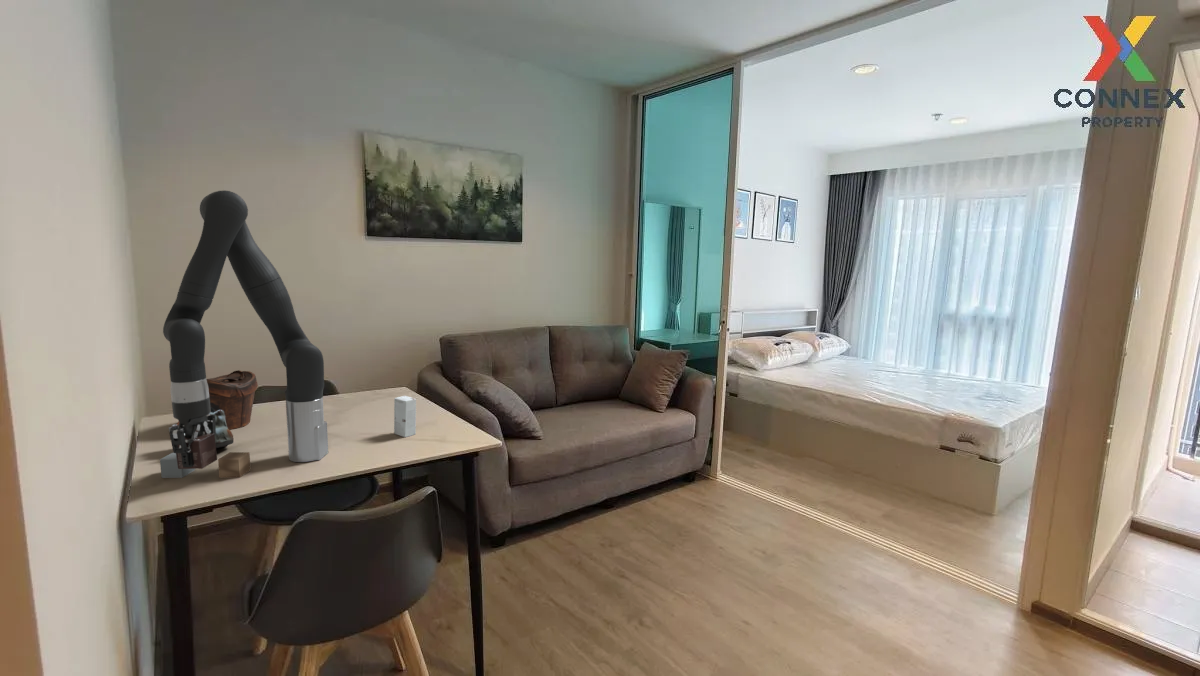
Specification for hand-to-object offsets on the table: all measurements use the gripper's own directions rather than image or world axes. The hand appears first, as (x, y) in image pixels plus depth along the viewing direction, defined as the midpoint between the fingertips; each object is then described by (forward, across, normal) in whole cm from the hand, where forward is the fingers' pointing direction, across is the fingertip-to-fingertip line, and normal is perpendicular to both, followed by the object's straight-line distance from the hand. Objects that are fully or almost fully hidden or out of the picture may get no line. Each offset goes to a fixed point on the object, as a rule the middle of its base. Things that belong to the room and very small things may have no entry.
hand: (197, 461), depth 136 cm
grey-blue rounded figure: (+5, +19, +11) cm, 23 cm away
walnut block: (+5, +4, -7) cm, 9 cm away
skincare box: (+6, +36, -42) cm, 55 cm away
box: (+1, 0, 0) cm, 1 cm away
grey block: (+5, +4, +7) cm, 10 cm away
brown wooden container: (+5, +45, +18) cm, 49 cm away
